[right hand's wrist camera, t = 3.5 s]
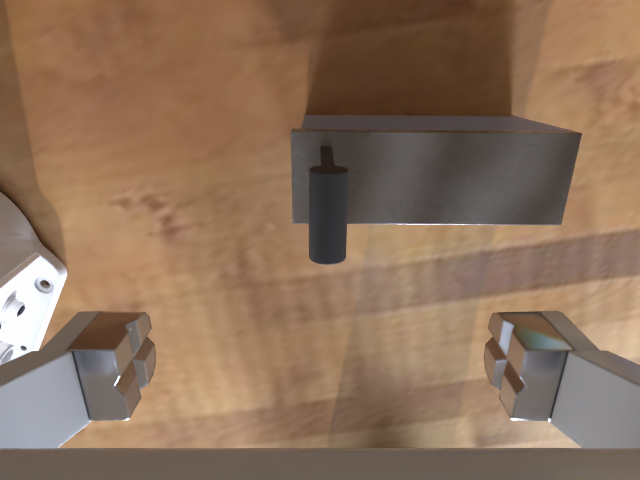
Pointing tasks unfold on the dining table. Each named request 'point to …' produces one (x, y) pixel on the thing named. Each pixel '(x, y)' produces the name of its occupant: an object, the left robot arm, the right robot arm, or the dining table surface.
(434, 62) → the dining table surface
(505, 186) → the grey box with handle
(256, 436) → the dining table surface
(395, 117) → the chest
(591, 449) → the right robot arm
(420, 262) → the dining table surface
